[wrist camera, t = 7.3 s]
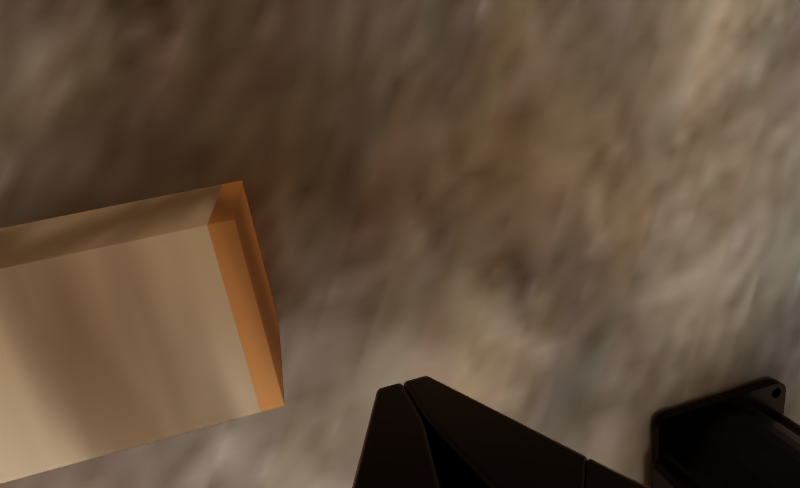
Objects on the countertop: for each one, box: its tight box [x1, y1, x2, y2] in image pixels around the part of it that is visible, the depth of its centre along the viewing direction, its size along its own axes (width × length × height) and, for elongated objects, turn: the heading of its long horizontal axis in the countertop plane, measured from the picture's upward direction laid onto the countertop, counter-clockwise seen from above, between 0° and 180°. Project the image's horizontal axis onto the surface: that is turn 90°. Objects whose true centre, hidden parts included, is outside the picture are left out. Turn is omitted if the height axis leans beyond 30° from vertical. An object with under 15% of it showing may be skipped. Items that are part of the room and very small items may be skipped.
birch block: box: [0, 180, 284, 484], centre depth 14 cm, size 5×5×10 cm
